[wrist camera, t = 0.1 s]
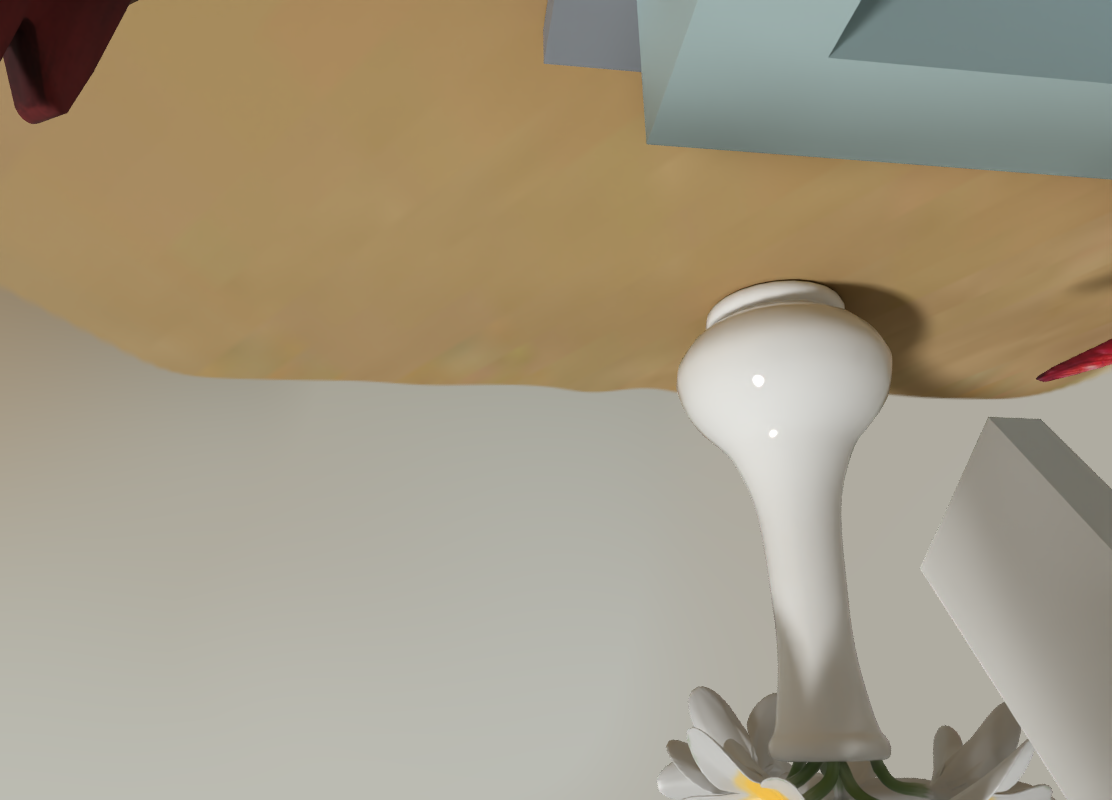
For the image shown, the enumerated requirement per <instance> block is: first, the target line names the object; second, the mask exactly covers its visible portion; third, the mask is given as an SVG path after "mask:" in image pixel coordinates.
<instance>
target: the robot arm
mask: <svg viewBox="0 0 1112 800" xmlns="http://www.w3.org/2000/svg"><path fill="white" fill-rule="evenodd" d="M920 570H921V571H922V573H923V574H924V576H925V577H926V579H927V581H928V582H929V584H930V585H931V587H932V588H933V590H934V592H935V593H936V595H937V596H938V598H939V599H940V601H941V603H942V604H943V606H944V607H945V609H946V610H947V612H948V614H949V615H950V617H951V618H952V620H953V621H954V623H955V625H956V626H957V627H958V629H959V631H960V632H961V634H962V636H963V637H964V639H965V640H966V642H967V643H968V645H969V647H970V648H971V649H972V651H973V653H974V655H975V656H976V658H977V659H978V661H979V662H980V664H981V666H982V667H983V669H984V670H985V672H986V673H987V675H988V677H989V678H990V680H991V681H992V683H993V684H994V686H995V688H996V689H997V690H998V692H999V694H1000V695H1001V697H1002V699H1003V700H1004V702H1005V703H1006V705H1007V706H1008V708H1009V710H1010V711H1011V713H1012V714H1013V716H1014V717H1015V719H1016V721H1017V722H1018V724H1019V725H1020V727H1021V728H1022V730H1023V732H1024V733H1025V734H1026V736H1027V738H1028V739H1029V741H1030V743H1031V744H1032V746H1033V747H1034V749H1035V750H1036V752H1037V753H1038V755H1039V757H1040V758H1041V760H1042V761H1043V763H1044V765H1045V766H1046V768H1047V769H1048V771H1049V772H1050V774H1051V776H1052V777H1053V779H1054V780H1055V782H1056V783H1057V785H1058V786H1059V788H1060V790H1061V791H1062V793H1063V794H1064V796H1065V797H1066V799H1067V800H1112V489H1111V488H1110V487H1109V486H1108V485H1107V484H1106V483H1105V482H1104V481H1103V480H1102V479H1101V478H1100V477H1099V476H1098V475H1097V474H1096V473H1095V472H1094V471H1093V470H1092V469H1091V468H1090V467H1089V466H1088V465H1087V464H1086V463H1085V462H1084V461H1082V459H1080V457H1078V456H1077V454H1075V453H1074V452H1073V451H1072V450H1071V449H1070V448H1069V447H1068V446H1067V445H1066V444H1065V443H1064V442H1063V441H1062V440H1061V439H1060V438H1059V437H1058V436H1057V435H1056V434H1055V433H1054V432H1053V431H1052V430H1051V429H1050V428H1049V427H1048V426H1047V425H1046V424H1045V423H1044V422H1043V421H1042V420H1041V419H1024V418H999V417H988V419H987V421H986V424H985V426H984V428H983V430H982V432H981V435H980V437H979V439H978V441H977V444H976V445H975V448H974V450H973V452H972V454H971V456H970V459H969V461H968V463H967V466H966V468H965V470H964V472H963V474H962V477H961V479H960V481H959V483H958V486H957V487H956V490H955V492H954V494H953V496H952V499H951V501H950V503H949V505H948V507H947V510H946V512H945V514H944V516H943V518H942V521H941V523H940V525H939V527H938V529H937V532H936V534H935V536H934V538H933V541H932V543H931V545H930V547H929V549H928V552H927V554H926V556H925V558H924V561H923V563H922V565H921V567H920Z"/></svg>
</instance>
